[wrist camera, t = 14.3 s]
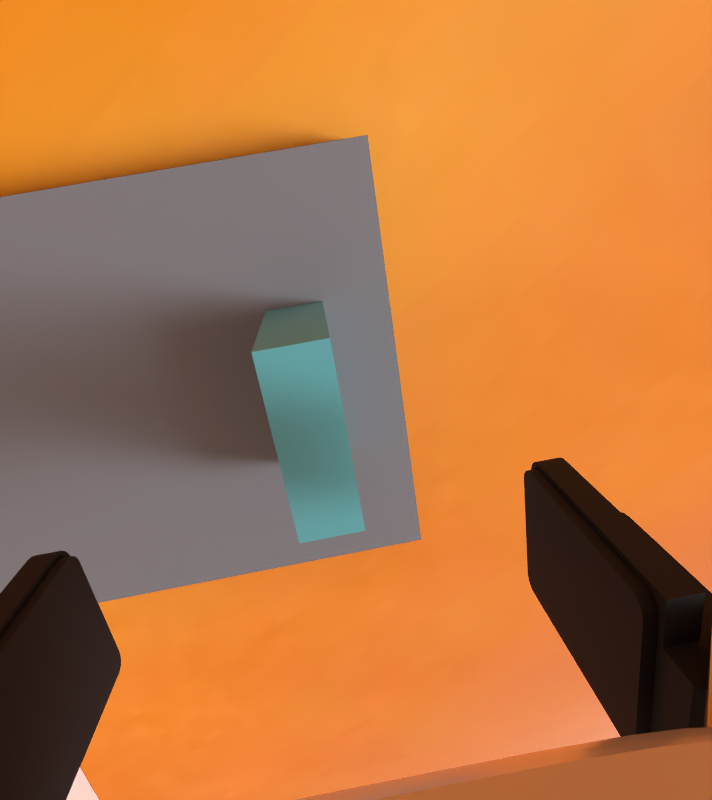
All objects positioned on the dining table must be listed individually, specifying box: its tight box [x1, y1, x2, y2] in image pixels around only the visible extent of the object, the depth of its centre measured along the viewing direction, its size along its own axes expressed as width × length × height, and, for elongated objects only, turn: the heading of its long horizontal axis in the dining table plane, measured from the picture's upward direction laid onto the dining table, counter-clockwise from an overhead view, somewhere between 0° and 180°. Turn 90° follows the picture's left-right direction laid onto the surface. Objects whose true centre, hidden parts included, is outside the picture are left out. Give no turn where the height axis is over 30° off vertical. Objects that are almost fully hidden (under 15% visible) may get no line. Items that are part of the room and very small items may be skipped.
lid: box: [0, 135, 421, 603], centre depth 17 cm, size 16×20×7 cm
